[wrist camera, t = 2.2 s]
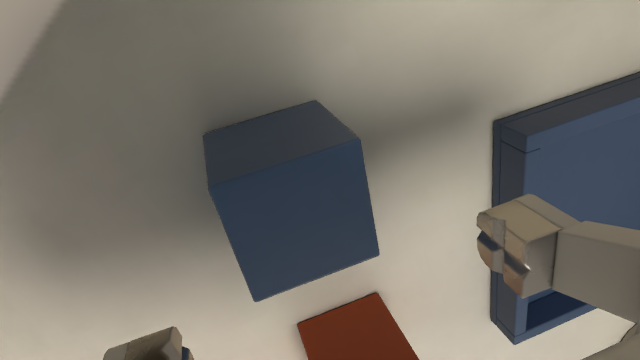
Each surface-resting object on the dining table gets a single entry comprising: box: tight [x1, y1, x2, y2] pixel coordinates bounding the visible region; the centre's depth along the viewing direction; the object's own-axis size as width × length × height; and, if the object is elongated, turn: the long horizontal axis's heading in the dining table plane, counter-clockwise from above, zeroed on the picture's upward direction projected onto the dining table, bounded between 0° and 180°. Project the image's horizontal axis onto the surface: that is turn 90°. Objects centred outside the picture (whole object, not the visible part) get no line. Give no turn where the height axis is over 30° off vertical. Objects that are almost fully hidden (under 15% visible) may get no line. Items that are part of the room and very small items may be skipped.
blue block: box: [203, 100, 379, 302], centre depth 14 cm, size 4×4×4 cm
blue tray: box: [491, 72, 640, 345], centre depth 22 cm, size 14×14×2 cm
